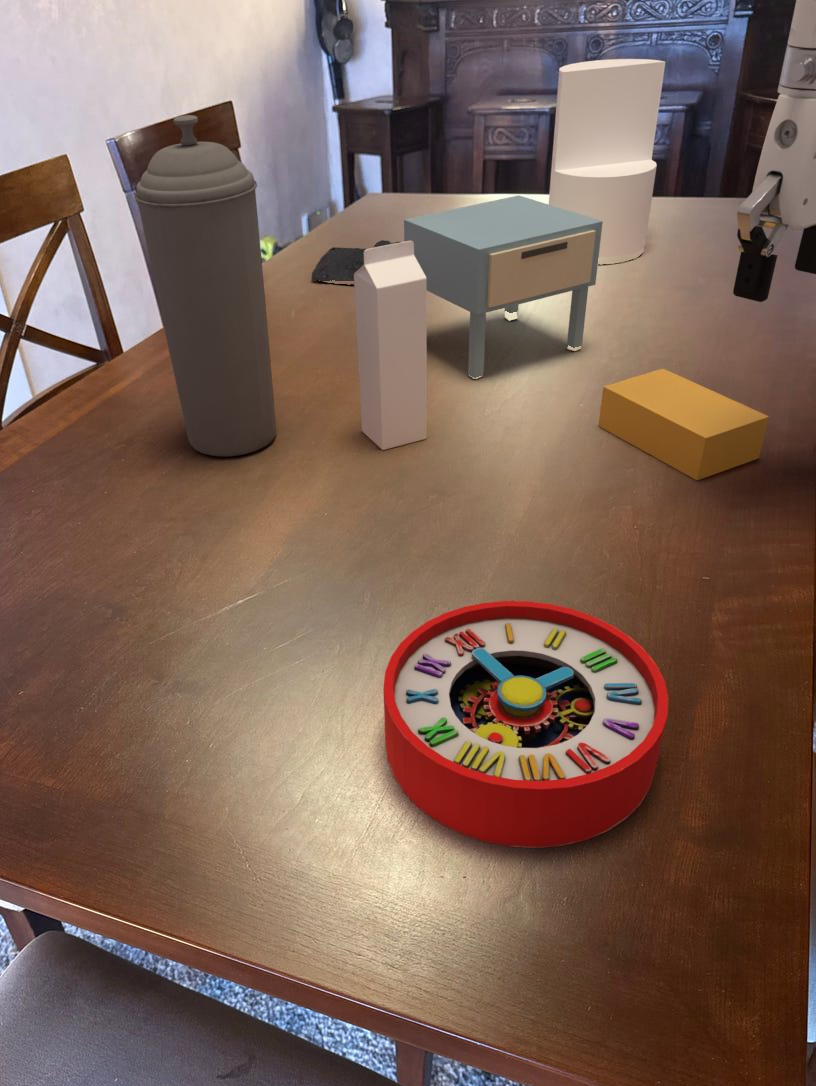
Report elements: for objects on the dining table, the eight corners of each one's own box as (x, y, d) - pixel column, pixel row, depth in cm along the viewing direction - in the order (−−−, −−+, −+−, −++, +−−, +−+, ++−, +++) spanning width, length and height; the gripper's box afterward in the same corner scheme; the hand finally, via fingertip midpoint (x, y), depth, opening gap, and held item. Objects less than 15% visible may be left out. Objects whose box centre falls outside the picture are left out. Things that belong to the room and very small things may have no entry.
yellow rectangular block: (758, 458, 99) (769, 416, 96) (696, 480, 96) (705, 438, 93) (656, 407, 110) (662, 368, 107) (598, 425, 107) (603, 386, 104)
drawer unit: (591, 352, 125) (606, 222, 114) (477, 384, 119) (482, 250, 108) (511, 314, 138) (518, 195, 127) (405, 342, 132) (403, 219, 121)
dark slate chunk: (335, 257, 167) (333, 230, 164) (449, 262, 160) (450, 234, 157) (304, 283, 156) (302, 255, 153) (425, 290, 149) (425, 260, 146)
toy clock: (490, 836, 54) (334, 656, 68) (486, 894, 57) (339, 712, 71) (733, 714, 60) (545, 573, 74) (716, 773, 64) (539, 628, 78)
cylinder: (530, 243, 166) (543, 65, 148) (619, 232, 168) (641, 55, 150) (566, 270, 153) (584, 79, 135) (661, 258, 154) (691, 67, 137)
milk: (427, 439, 107) (428, 246, 93) (381, 451, 106) (376, 257, 92) (403, 420, 112) (402, 233, 98) (360, 431, 110) (351, 242, 96)
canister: (211, 474, 104) (153, 134, 82) (165, 436, 112) (101, 119, 90) (303, 441, 109) (272, 112, 87) (253, 407, 117) (212, 100, 95)
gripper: (814, 90, 67) (762, 319, 77) (933, 57, 74) (870, 270, 85) (726, 83, 72) (688, 299, 82) (846, 53, 79) (797, 255, 90)
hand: (780, 284), depth 84 cm, fingers open, 9 cm apart
